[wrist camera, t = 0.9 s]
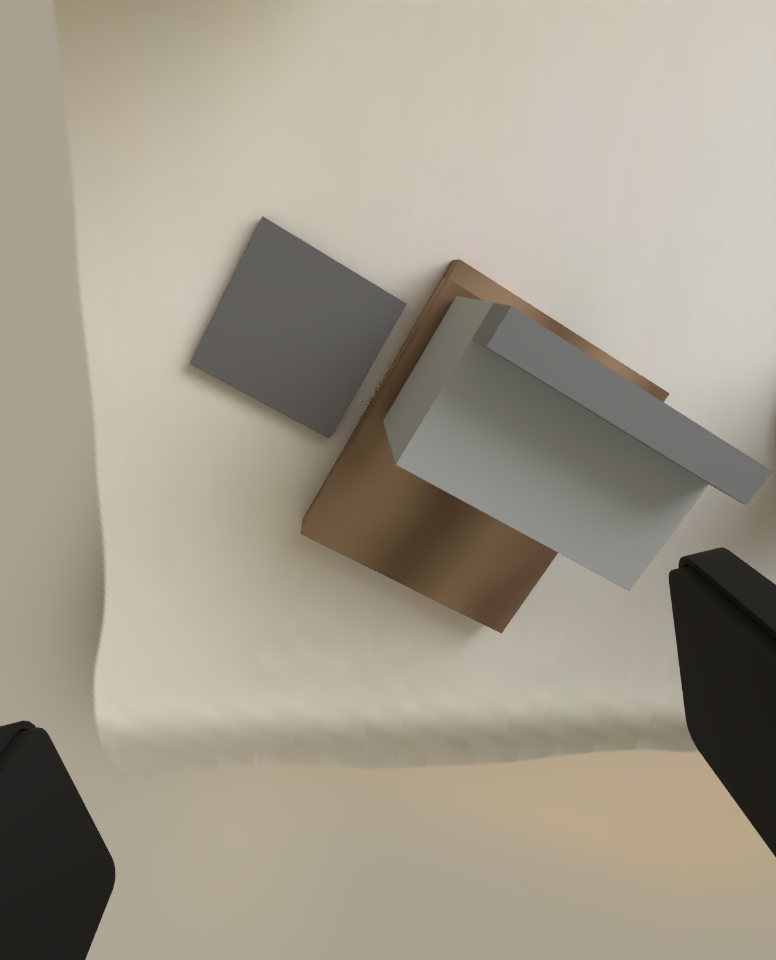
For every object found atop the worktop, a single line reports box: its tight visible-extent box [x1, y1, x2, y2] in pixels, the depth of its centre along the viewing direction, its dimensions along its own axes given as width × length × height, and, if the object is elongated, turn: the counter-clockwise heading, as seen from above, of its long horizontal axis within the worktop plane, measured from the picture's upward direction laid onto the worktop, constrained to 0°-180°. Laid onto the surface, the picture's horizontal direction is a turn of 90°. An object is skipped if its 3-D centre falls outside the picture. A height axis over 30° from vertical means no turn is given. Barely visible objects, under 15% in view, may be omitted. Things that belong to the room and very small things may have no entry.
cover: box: [383, 296, 772, 591], centre depth 28 cm, size 12×7×10 cm, turn 60°
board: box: [301, 259, 669, 633], centre depth 34 cm, size 13×16×2 cm
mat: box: [190, 217, 406, 439], centre depth 32 cm, size 8×8×1 cm
